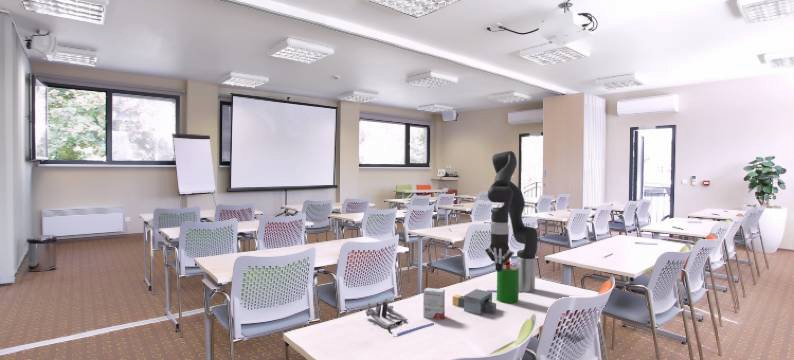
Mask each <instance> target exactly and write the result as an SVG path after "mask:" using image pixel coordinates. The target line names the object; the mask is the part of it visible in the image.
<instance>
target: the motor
mask: <svg viewBox="0 0 794 360" xmlns="http://www.w3.org/2000/svg"><path fill="white" fill-rule="evenodd" d="M519 292H520V291H519V268H517V267H516V269H513V268H512V269H511V260H510V259H509V260H508V261H507V262H505V268H503V270H502V271H501V272H497V271H496V301H498V302H500V303H505V304H516V303H518V302H519Z"/></svg>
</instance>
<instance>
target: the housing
mask: <svg viewBox="0 0 794 360" xmlns="http://www.w3.org/2000/svg"><path fill="white" fill-rule="evenodd" d="M463 296H464V307H463V312H467V313H471V314H474V315H479V316H482V315H483V314H484V301H488V302H492V303H493V292H492V291H486V290H482V289H478V288H476V289H474V290H472V291H470V292H468V293H466V294H464V295H463Z"/></svg>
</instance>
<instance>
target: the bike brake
mask: <svg viewBox="0 0 794 360" xmlns="http://www.w3.org/2000/svg"><path fill="white" fill-rule="evenodd" d="M384 300H385V301H384ZM384 300H383V302H382V305H381V304H380V303H378V302H376V305H375V309H373V308H372V307H371V302H368V303H367V308H366V309H365V314H366V317H369V316H370V317H372V319H374V320H375V322H376V323H378V324H379V325H380V326H382V327H384V328H385V329H388V330H387V331H388V332H389V333H390V334H392V333H393V332H392V331H391V328H394V327H395V326H397V325H401V324H402V323H407V321H408V320H409V319H408V318H406V317H405V316H404V315H402V314H400V313H399V312H397V311H395V310H394V309H393V308H394V306H393V305H389V304H388V298H385V299H384ZM387 313H389V315H392V316H395V317H398V318H399V319H400V320H398V321H396V322H390V323H388V324H387V323H385V322H383V321H382V320H381V318H380V317H383V318H384V319H386V318H387ZM392 335H393V334H392Z"/></svg>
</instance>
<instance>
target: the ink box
mask: <svg viewBox="0 0 794 360" xmlns="http://www.w3.org/2000/svg"><path fill="white" fill-rule="evenodd" d="M445 293H446V290H445V289H441V288H431V287H425V289H424V290H423V311H422V312H423V314H422V315H423V318H427V319H435V320H443V319H444V318H445V315H446V314H445V313H446V312H445V311H446V307H445V306H446V304H445V302H446V300H445V299H446V296H445V295H446V294H445Z"/></svg>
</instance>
